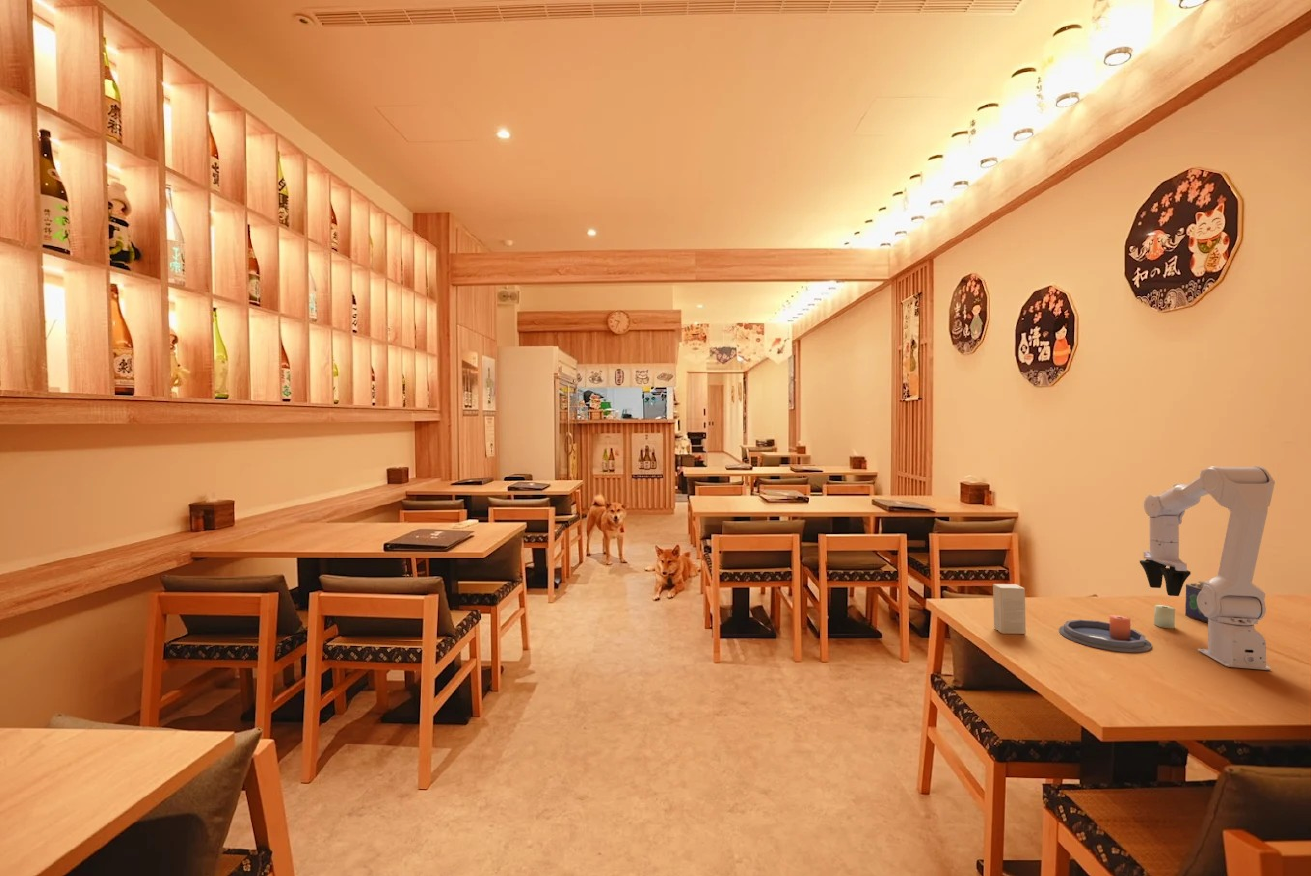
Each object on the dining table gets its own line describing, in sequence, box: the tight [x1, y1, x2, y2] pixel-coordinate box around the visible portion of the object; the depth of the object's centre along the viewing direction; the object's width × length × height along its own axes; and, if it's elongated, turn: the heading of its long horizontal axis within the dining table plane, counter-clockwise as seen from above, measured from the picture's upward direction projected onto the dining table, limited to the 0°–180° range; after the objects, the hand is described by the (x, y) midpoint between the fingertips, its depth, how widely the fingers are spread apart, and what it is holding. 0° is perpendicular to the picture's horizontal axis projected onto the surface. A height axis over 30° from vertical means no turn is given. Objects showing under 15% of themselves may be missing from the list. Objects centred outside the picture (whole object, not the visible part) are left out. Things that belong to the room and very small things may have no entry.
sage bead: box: [1153, 604, 1176, 630], centre depth 147 cm, size 4×4×5 cm
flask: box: [1184, 580, 1208, 624], centre depth 151 cm, size 9×3×11 cm, turn 2°
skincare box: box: [992, 583, 1027, 635], centre depth 144 cm, size 6×4×12 cm
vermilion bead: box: [1109, 614, 1131, 641], centre depth 137 cm, size 4×4×5 cm
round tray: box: [1058, 619, 1153, 654], centre depth 138 cm, size 18×18×2 cm
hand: (1164, 591), depth 146 cm, fingers open, 7 cm apart
